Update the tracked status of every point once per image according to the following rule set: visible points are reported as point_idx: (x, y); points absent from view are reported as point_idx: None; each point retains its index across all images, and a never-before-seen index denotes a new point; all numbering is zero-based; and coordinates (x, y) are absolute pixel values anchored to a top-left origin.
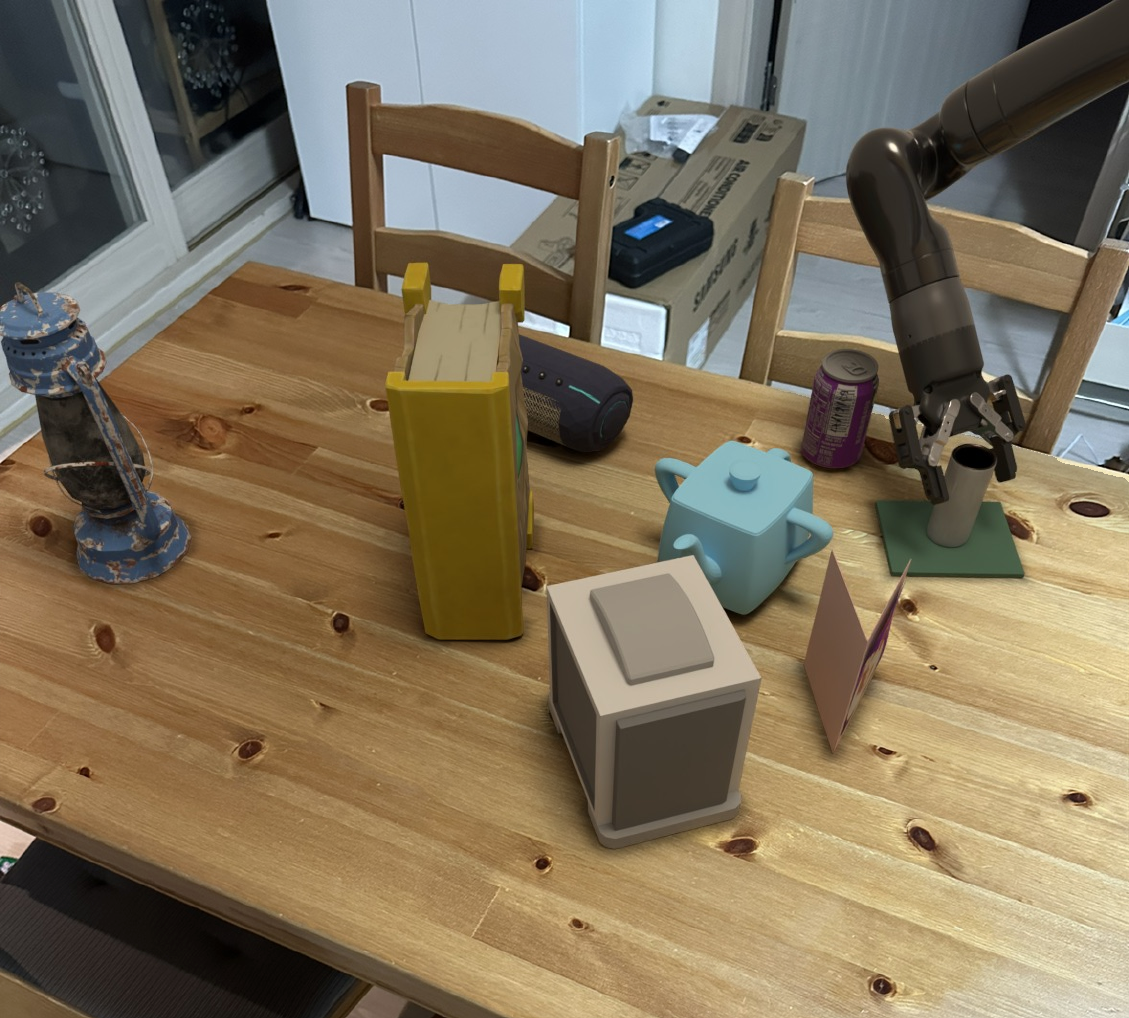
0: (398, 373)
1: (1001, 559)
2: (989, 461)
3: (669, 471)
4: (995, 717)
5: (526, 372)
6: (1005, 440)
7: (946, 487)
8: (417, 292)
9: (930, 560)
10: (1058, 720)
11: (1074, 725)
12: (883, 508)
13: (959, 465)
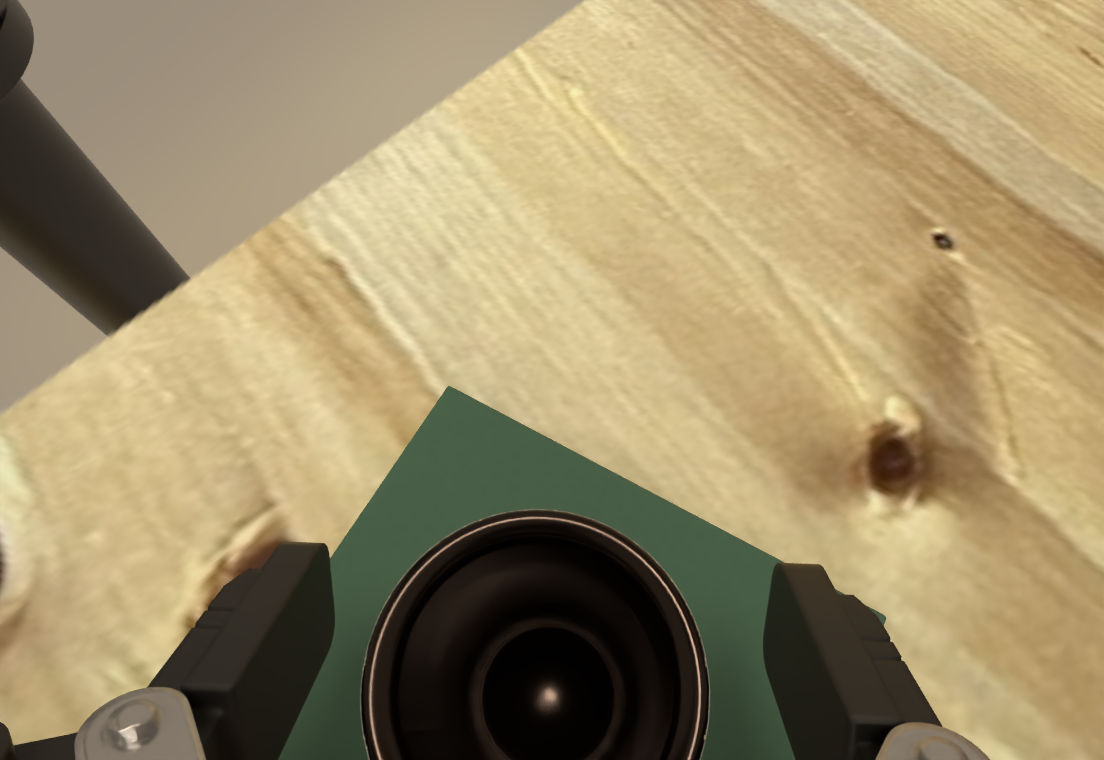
0: None
1: (464, 475)
2: (418, 631)
3: None
4: (870, 76)
5: None
6: (189, 705)
7: (800, 602)
8: None
9: (709, 596)
10: (734, 22)
11: (709, 3)
12: None
13: (701, 652)
